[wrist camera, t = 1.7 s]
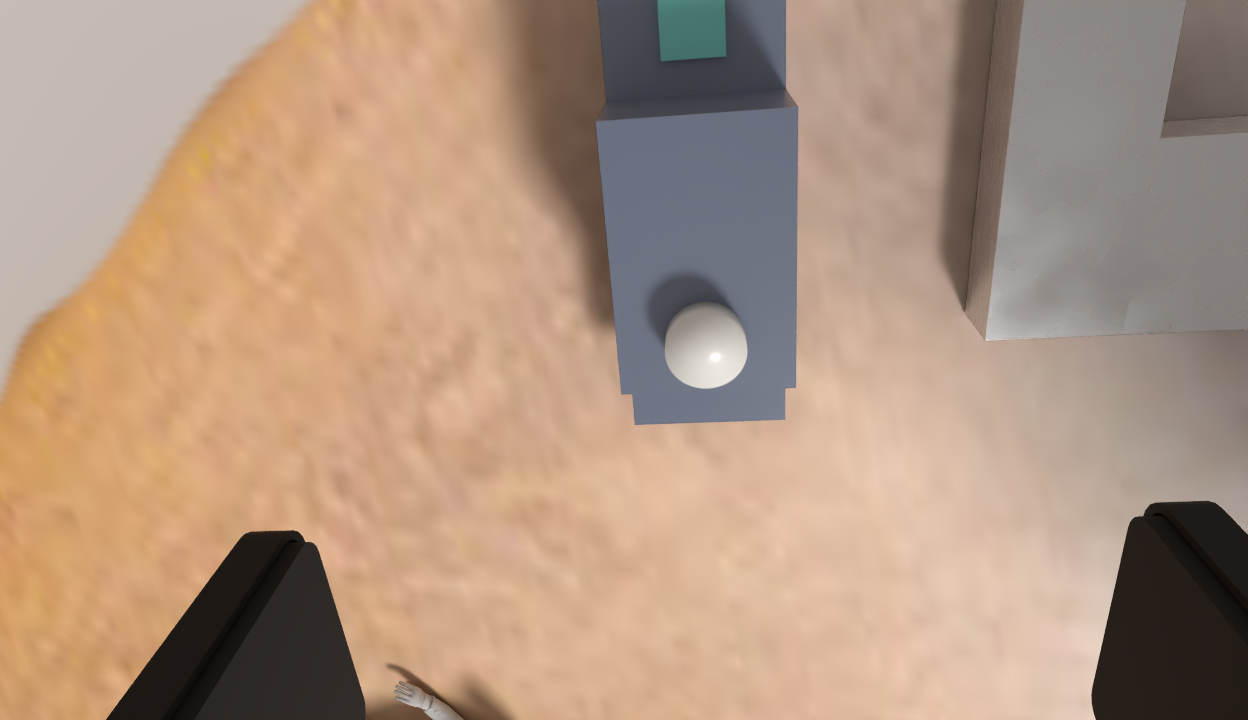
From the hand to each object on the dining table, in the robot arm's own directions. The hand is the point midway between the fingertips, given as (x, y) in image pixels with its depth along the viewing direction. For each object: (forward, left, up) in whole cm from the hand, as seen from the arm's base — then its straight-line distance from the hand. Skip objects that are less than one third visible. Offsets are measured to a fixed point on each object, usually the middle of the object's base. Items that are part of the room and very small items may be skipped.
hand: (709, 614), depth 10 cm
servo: (0, 0, -17) cm, 17 cm away
